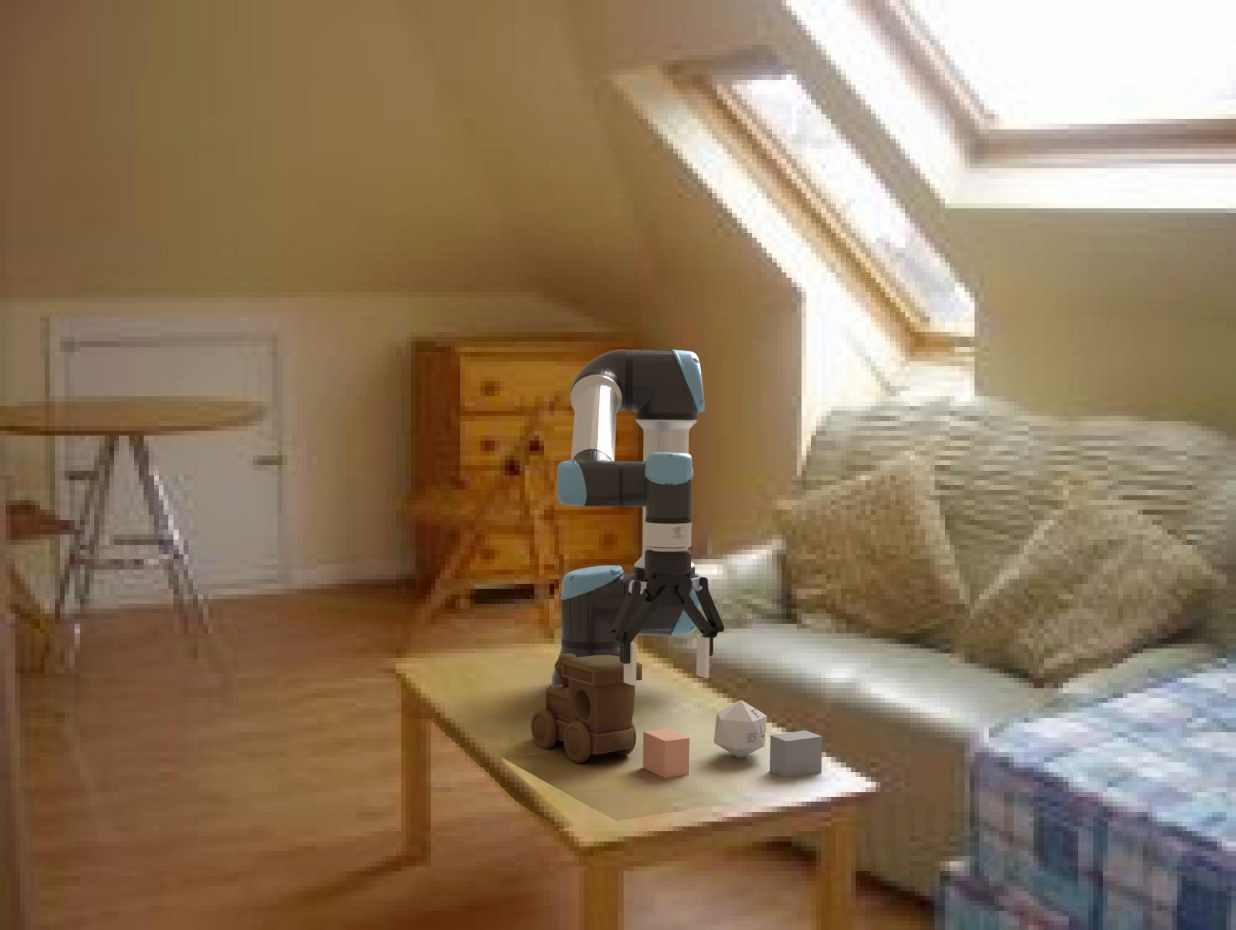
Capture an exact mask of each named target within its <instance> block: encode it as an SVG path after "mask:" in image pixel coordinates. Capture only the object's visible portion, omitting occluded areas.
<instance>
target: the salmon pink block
mask: <svg viewBox="0 0 1236 930" xmlns="http://www.w3.org/2000/svg"><path fill="white" fill-rule="evenodd" d="M642 733H643V735H642V742H643V743H642V768H643V769H645V770H648V771H649V772H651V773H654V774H656V775H658V776H660V777H661V778H664V779H665V778H668V779H669V778H673V777H674V778H675V777H679V776H680V777H681V776H687V775H690V737H687V736H686V735H683V734H680V733H679V732H676V731H674V730H672V729H669V728H663V729H661V728H660V729H653V730H652V729H651V730H645V731H643V732H642Z"/></svg>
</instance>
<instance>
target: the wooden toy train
mask: <svg viewBox="0 0 1236 930" xmlns="http://www.w3.org/2000/svg"><path fill="white" fill-rule="evenodd" d="M558 657H559V656H558ZM554 669H556V671H557V673H558V676H559V678H560V680H561V683H562V685H557V686H553V687H552V686H551V687H548V688H546V690H545V695H544V696H545V697H544V708H539V709H538V710H536V711H535V712H534V714H533V715H532V718H531V721H530V733H531V736H532V739H533V741H534V743H535V745H536V746H537V747H539V748H542V749H545V750H550V749H552V748H553V747H554V746H555V744H556V743H557V741H561V742H563V746H564V750H565V752H566V754H567V756H568V757H569V759H570V760H571V761H572V762H574V763H575V764H583V763H585V762H586V761H588V760H589V758H590V756H591V754H594V755H599V754H606V753H612V752H615V754H618V755H619V756H624V757H625V756H628V755H629V754H631V753H632V752H633V751H634V749H635V747H636V743H637V731H636V727H635V725H634V722H633V716H634V711H635V710H634V706H635V699H636V698H635V696H636V685H630V684H627V683H624V663H621V662H620V657H619V656H612V655H594V656H586V657H578V658H576V656H575V655H574V654H570V653H565V654H561V655H560V657H559V658H557V659H556V662H555V663H554ZM636 681H643V664H642V663H640V662H638V661H636Z"/></svg>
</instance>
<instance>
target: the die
mask: <svg viewBox="0 0 1236 930" xmlns="http://www.w3.org/2000/svg"><path fill="white" fill-rule="evenodd" d="M767 719H768V715H766V714H765V713H763V712H762V711H760V710H759V709H757V708H755V707H753V706H752V705H750V704H749V703H747V702H746V701H745V700H742V699H740V700H738V701H736V702H733V703H732V704H730V705H728V706H726V707H724V708H723V709H721V710H719V711H717V712H716V718H715V726H714V737H713V743H714V744H715V745H717V746H719V747H720V748H722V749H723V750H725V751H727V752H728V753H730V754H731V755H733V756H735V757H737V758H739V759H742V758H744V757H746V756H749V754H752V753H754V752H756V751H757V750H759V749H762V748H763V747H765V743H766V732H767V721H768V720H767Z"/></svg>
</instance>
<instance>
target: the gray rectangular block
mask: <svg viewBox="0 0 1236 930" xmlns="http://www.w3.org/2000/svg"><path fill="white" fill-rule="evenodd" d="M769 736H770V739H769V744H770V746H769V772H770V773H774V774H775V775H778V776H780V777H783V778H784V779H786V778H787V779H788V778H795V777H801V776H807V775H813V774H820V773H822V766H823V764H822V763H823V762H822V760H823V756H822V755H823V736H822V735H819V734H817V733H813V732H811V731H808V730H798V731H790V732H784V733H776V734H770V735H769Z"/></svg>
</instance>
